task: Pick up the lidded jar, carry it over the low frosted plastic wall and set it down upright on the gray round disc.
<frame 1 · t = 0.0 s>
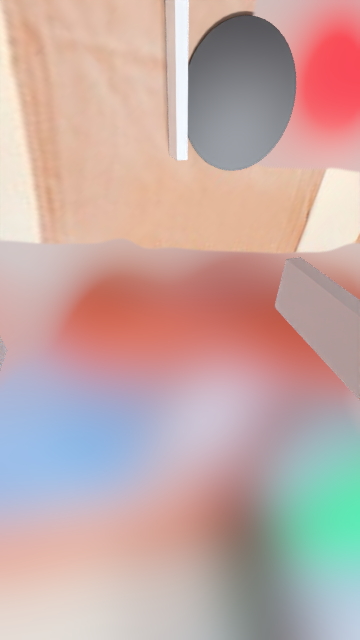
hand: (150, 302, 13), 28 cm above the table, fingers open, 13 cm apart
low wall: (171, 26, 27), on the table
gray round disc: (239, 103, 33), on the table
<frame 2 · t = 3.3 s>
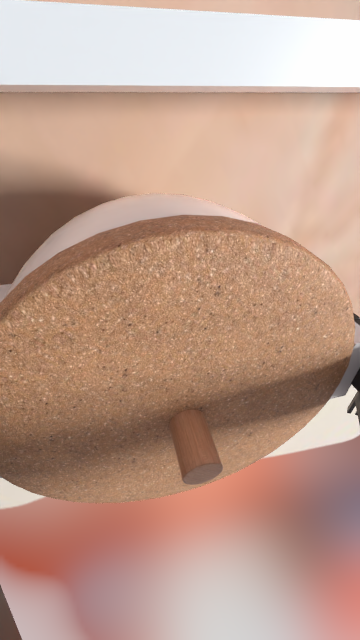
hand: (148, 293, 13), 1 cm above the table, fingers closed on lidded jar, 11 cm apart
low wall: (289, 71, 10), on the table
lidded jar: (144, 281, 14), on the table, touching gripper
when the fingers open (2 cm above the table, at t = 10.0 s): lidded jar drops 1 cm, resting on gray round disc.
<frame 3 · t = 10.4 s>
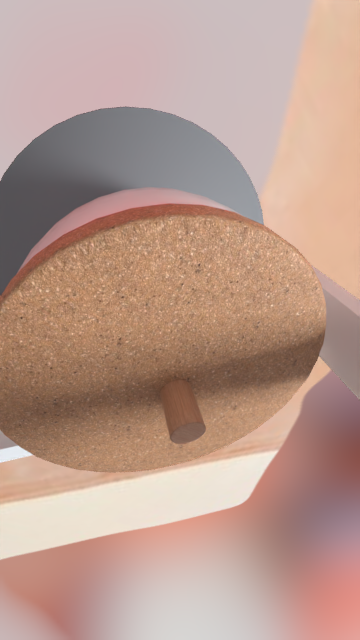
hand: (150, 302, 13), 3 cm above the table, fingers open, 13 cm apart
low wall: (63, 387, 19), on the table
lidded jar: (141, 272, 15), resting on gray round disc
gray round disc: (141, 270, 15), on the table
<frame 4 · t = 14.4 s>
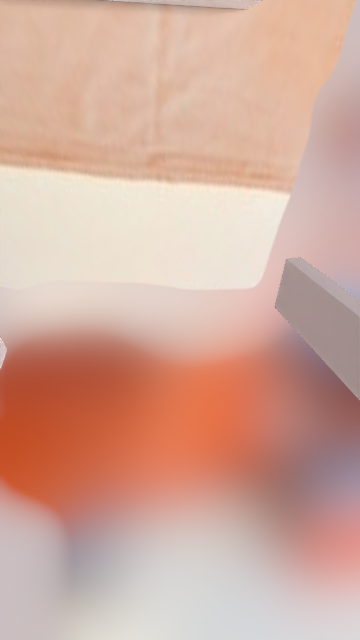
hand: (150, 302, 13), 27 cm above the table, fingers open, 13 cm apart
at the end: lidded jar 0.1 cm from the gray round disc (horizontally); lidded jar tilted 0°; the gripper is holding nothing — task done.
